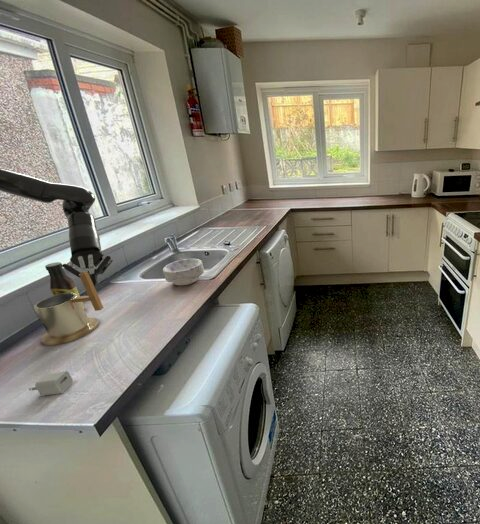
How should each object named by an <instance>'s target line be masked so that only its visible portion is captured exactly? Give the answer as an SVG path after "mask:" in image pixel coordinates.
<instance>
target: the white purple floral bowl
mask: <svg viewBox="0 0 480 524" xmlns="http://www.w3.org/2000/svg"><path fill="white" fill-rule="evenodd" d="M204 273H205V267H204V264H203V261H202V260H201V259H199V258H184V259H180V260H175V261H172V262H170V263H168V264H166V265H165V266H164V267H163V268H162V274H163V276H164V279H165V281H166V282H168V283H172V284H174V285H175V286H188V285H192V284H193V283H196V282H198V281H199V279H200V278H201V276H202V275H203V274H204Z"/></svg>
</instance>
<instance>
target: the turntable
mask: <svg viewBox="0 0 480 524" xmlns="http://www.w3.org/2000/svg"><path fill="white" fill-rule="evenodd" d="M88 319H89V321H90V325H89V326H88V327H87V328H86V329H85V330H83V331H81V332H79V333H77V334H75V335H72V336H69V337H65V338H60V339H52V338H50V336H49V334H48V333H47V332H45V334H43V335H42V336H41V339H40V341H41V343H42V344H43V345H45V346H57V345H62V344H66V343H70V342H72V341H73V342H74V341H76V340H78V339H80V338H83V337H85V336H86V335H88V334H89V333H91V332H93V331H94V330H95V329H97V327H99V325H100V323H99V320H98V318H96V317H88Z"/></svg>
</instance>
